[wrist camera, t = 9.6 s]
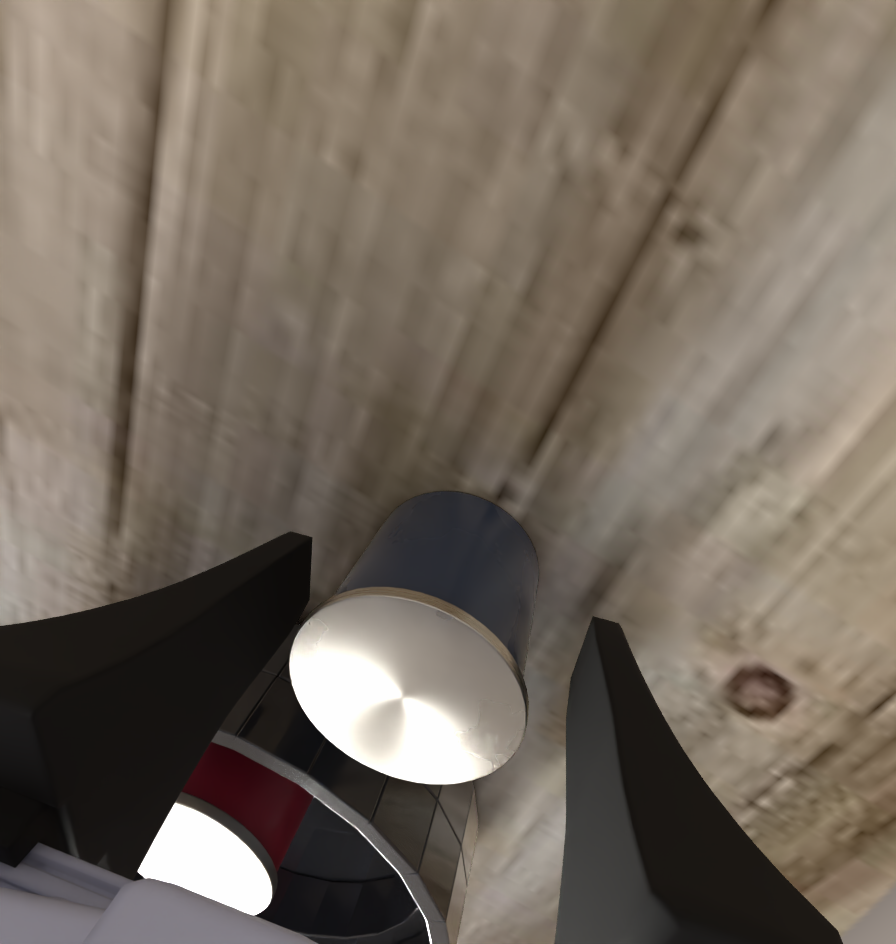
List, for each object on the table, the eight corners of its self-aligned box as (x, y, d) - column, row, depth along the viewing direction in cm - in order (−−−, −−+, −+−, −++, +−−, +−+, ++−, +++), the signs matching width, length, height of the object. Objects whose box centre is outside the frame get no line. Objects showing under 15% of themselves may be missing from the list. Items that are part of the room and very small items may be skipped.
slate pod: (364, 608, 17) (285, 741, 12) (379, 463, 14) (290, 565, 10) (524, 655, 16) (499, 813, 12) (567, 510, 14) (555, 641, 9)
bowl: (133, 813, 25) (47, 923, 21) (84, 546, 19) (-55, 636, 15) (445, 932, 23) (415, 1079, 19) (521, 678, 16) (497, 826, 12)
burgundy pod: (217, 742, 21) (119, 878, 16) (211, 644, 18) (96, 772, 14) (340, 785, 20) (271, 939, 16) (350, 689, 18) (273, 838, 13)
